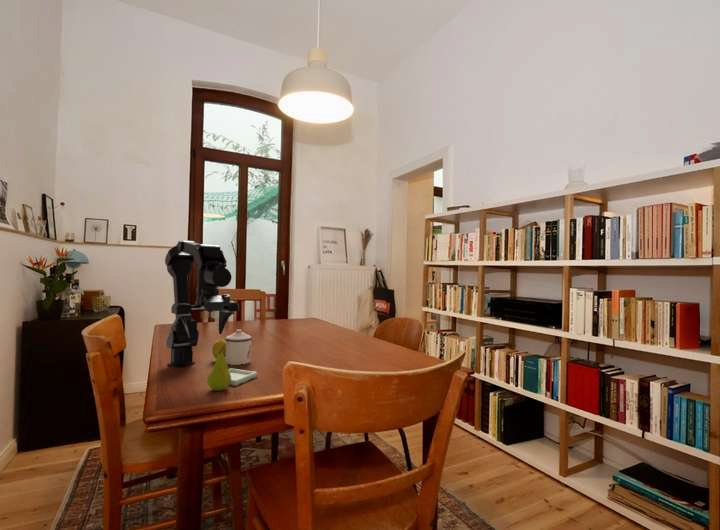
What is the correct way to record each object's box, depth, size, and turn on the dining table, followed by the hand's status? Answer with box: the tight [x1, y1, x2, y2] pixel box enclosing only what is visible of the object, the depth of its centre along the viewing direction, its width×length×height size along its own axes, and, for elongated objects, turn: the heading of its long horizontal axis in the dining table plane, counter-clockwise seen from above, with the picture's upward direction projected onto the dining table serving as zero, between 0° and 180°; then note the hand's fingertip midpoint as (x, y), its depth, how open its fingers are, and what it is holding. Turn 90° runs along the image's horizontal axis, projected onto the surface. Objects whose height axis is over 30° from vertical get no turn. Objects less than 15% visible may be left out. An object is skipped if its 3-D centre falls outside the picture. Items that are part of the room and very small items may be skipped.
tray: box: [228, 367, 258, 387], centre depth 113 cm, size 10×10×2 cm
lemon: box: [211, 338, 226, 359], centre depth 134 cm, size 6×6×8 cm
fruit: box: [207, 347, 231, 392], centre depth 103 cm, size 6×6×12 cm
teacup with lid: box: [224, 329, 253, 366], centre depth 134 cm, size 12×9×12 cm
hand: (205, 335), depth 114 cm, fingers open, 9 cm apart
